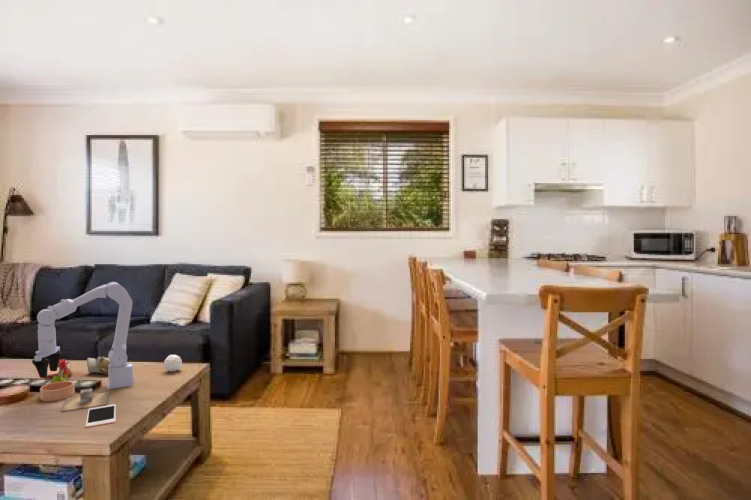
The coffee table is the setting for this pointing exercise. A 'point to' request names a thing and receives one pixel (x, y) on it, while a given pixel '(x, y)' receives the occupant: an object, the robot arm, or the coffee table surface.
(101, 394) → the oak lid
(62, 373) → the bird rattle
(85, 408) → the rubber mat
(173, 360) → the geometric ball
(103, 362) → the ceramic sculpture
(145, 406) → the coffee table surface
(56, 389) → the terracotta bowl
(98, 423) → the cell phone
